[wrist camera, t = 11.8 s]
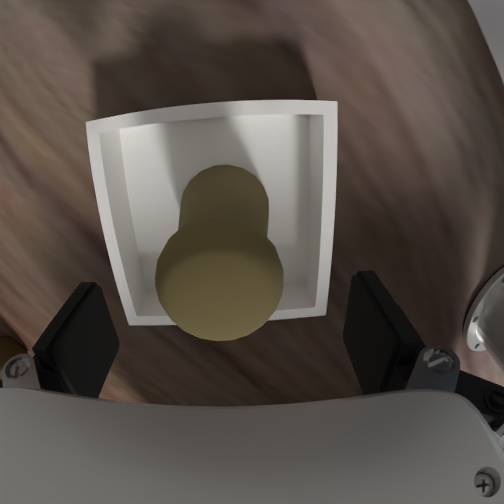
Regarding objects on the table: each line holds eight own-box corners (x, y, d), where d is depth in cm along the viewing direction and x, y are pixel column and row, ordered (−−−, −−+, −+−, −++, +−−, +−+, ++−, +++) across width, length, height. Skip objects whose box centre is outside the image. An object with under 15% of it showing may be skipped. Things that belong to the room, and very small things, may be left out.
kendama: (54, 362, 29) (27, 417, 34) (-7, 312, 26) (-19, 381, 31) (34, 398, 23) (14, 443, 28) (-33, 342, 20) (-34, 406, 25)
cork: (163, 194, 20) (103, 278, 10) (240, 147, 19) (248, 190, 9) (211, 263, 23) (198, 379, 13) (284, 223, 22) (325, 323, 12)
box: (318, 102, 19) (337, 101, 15) (313, 285, 25) (325, 315, 21) (110, 118, 18) (85, 122, 14) (141, 294, 24) (129, 325, 21)
